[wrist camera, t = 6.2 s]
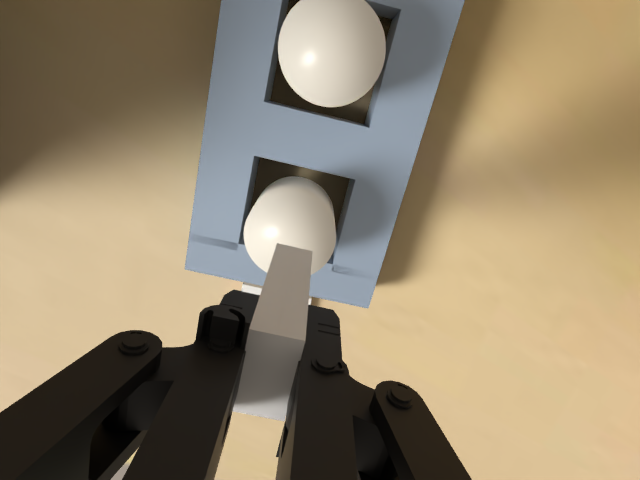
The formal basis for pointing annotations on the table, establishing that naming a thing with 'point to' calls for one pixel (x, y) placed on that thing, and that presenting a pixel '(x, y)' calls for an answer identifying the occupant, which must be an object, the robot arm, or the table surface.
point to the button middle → (331, 50)
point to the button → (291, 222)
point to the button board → (314, 141)
